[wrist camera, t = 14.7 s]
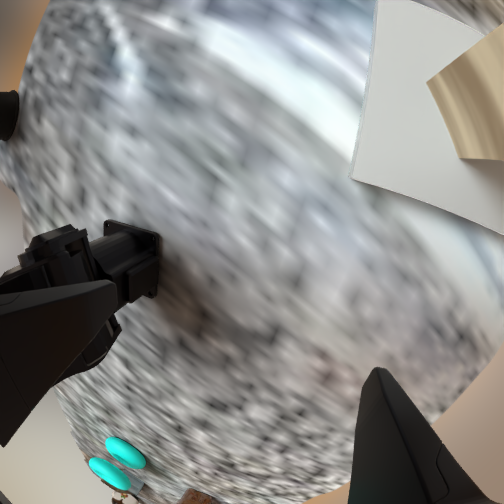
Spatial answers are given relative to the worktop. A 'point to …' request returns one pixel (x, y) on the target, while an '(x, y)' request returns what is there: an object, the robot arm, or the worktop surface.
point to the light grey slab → (420, 117)
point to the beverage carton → (135, 484)
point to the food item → (194, 497)
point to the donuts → (123, 455)
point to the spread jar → (123, 498)
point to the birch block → (474, 98)
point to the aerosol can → (8, 113)
